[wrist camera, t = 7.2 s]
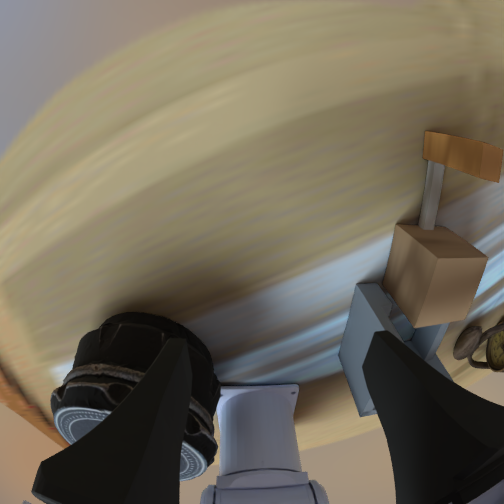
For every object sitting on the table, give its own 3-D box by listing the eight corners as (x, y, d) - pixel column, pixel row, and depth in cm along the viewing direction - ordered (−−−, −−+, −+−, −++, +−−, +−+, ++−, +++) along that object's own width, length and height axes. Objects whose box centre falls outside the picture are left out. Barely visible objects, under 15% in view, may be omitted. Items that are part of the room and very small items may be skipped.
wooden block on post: (430, 281, 21) (468, 323, 16) (382, 284, 21) (417, 333, 16) (458, 140, 16) (515, 154, 11) (408, 126, 16) (466, 136, 10)
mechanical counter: (494, 395, 24) (548, 350, 19) (462, 399, 20) (538, 339, 15) (477, 354, 30) (526, 310, 24) (441, 345, 26) (506, 285, 20)
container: (76, 290, 20) (16, 377, 11) (231, 316, 22) (229, 430, 13) (99, 386, 26) (73, 461, 17) (216, 407, 27) (213, 491, 18)
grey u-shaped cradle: (422, 343, 25) (453, 391, 18) (338, 355, 24) (360, 417, 18) (448, 278, 21) (493, 325, 15) (356, 283, 21) (394, 345, 15)
